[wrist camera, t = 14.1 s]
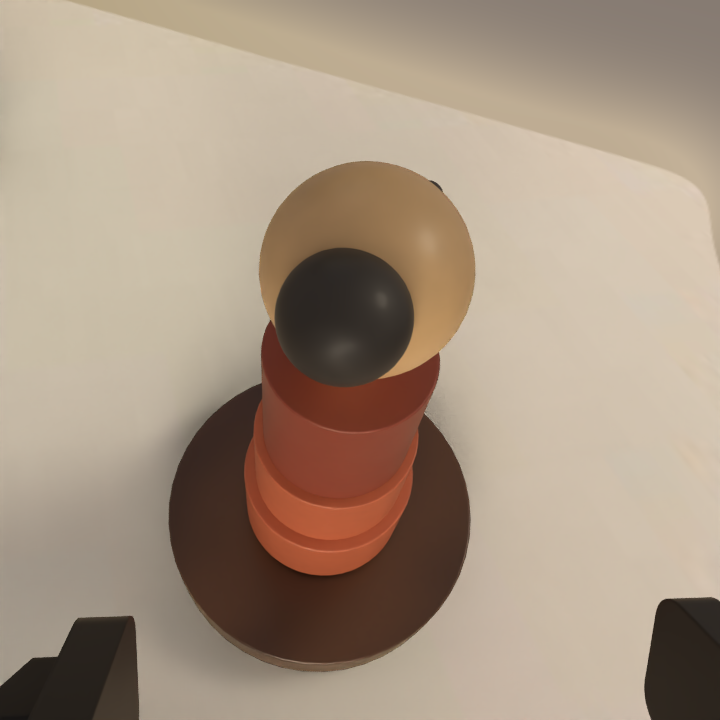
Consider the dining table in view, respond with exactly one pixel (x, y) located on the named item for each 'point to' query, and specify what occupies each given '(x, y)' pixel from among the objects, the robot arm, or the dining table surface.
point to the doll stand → (305, 591)
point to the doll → (350, 358)
